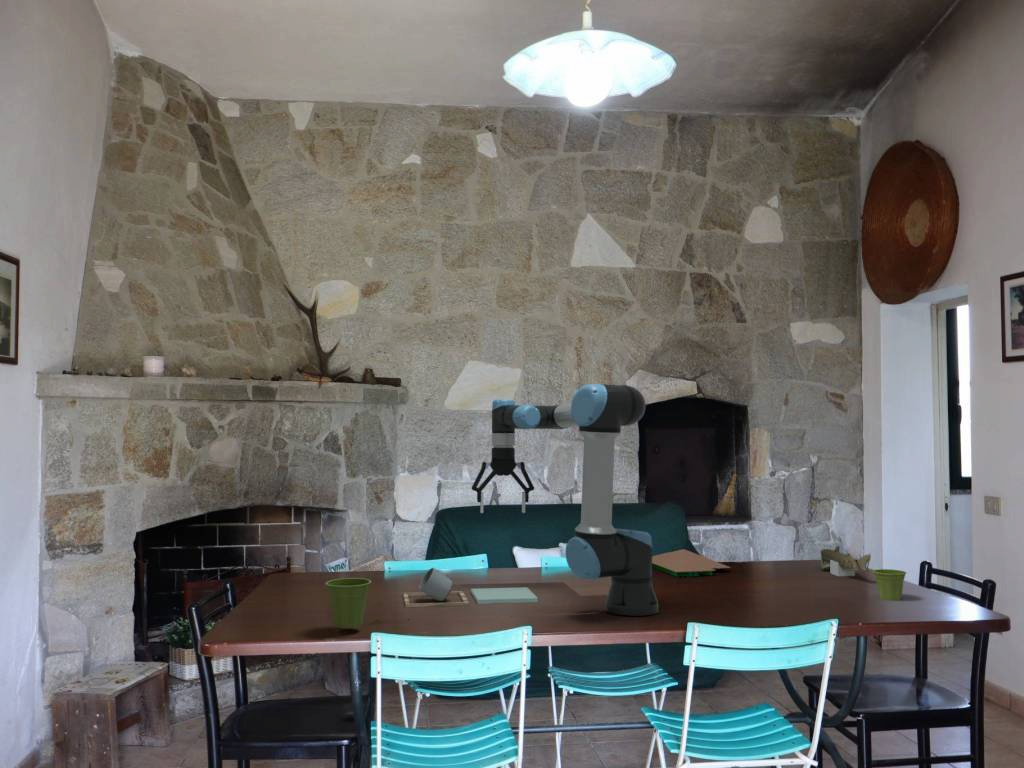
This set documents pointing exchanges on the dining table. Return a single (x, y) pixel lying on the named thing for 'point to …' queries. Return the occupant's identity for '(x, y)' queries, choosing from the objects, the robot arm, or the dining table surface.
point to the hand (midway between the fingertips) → (502, 512)
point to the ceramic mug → (436, 585)
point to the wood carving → (843, 562)
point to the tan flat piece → (685, 563)
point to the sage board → (503, 595)
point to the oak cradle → (407, 604)
